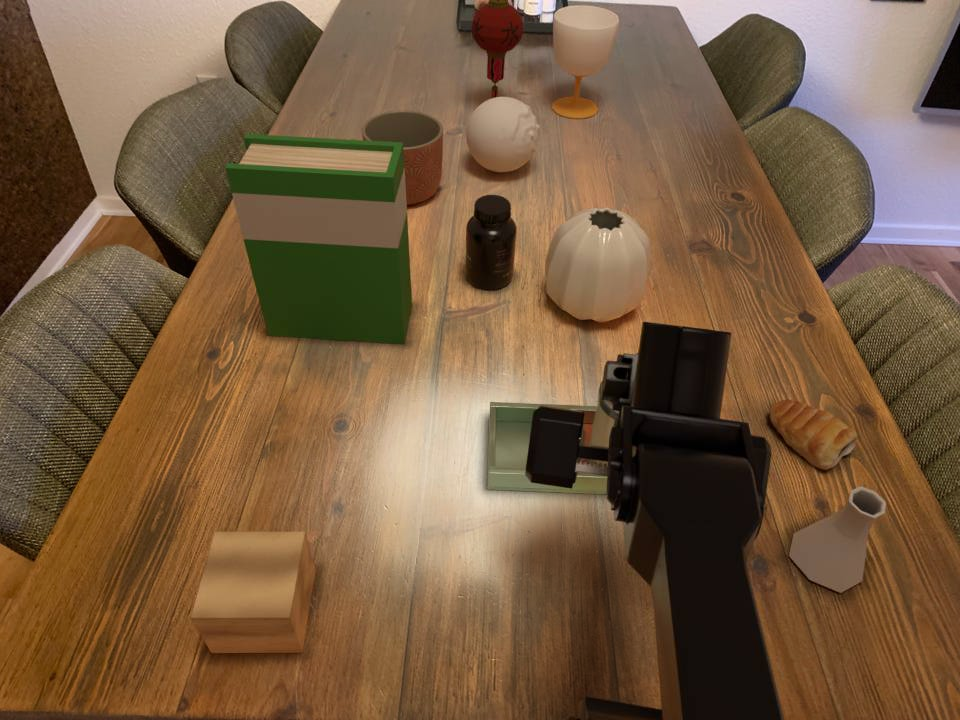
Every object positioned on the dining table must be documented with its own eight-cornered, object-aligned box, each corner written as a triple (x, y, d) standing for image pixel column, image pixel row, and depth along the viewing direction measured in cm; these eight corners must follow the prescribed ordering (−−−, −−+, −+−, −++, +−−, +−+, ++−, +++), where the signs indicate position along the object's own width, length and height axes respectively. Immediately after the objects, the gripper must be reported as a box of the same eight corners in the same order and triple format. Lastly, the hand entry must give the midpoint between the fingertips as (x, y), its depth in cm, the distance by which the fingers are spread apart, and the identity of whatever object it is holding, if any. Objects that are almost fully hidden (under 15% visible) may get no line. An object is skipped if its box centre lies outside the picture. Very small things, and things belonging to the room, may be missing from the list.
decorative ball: (522, 192, 117) (527, 123, 108) (455, 176, 120) (454, 108, 111) (544, 158, 125) (551, 92, 116) (481, 144, 127) (483, 79, 119)
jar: (588, 486, 75) (604, 419, 67) (581, 437, 80) (595, 369, 72) (650, 486, 75) (673, 419, 68) (639, 437, 80) (659, 369, 72)
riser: (302, 653, 63) (289, 617, 58) (211, 653, 62) (190, 618, 57) (316, 569, 68) (305, 531, 63) (232, 570, 68) (214, 531, 63)
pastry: (753, 426, 82) (763, 404, 80) (785, 399, 86) (796, 377, 83) (826, 477, 78) (840, 456, 75) (857, 446, 81) (871, 425, 78)
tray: (665, 496, 75) (671, 480, 73) (487, 489, 75) (488, 472, 73) (652, 425, 82) (657, 408, 80) (489, 418, 82) (490, 401, 80)
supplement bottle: (455, 276, 101) (455, 203, 92) (487, 255, 104) (490, 183, 96) (490, 298, 97) (494, 225, 89) (523, 276, 101) (529, 203, 93)
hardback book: (267, 335, 91) (225, 167, 74) (283, 298, 96) (246, 133, 79) (404, 344, 91) (393, 177, 74) (412, 306, 96) (403, 142, 79)
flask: (809, 513, 74) (847, 455, 67) (877, 559, 71) (924, 502, 64) (775, 556, 71) (811, 500, 63) (844, 607, 67) (890, 553, 60)
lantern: (485, 124, 133) (491, -55, 112) (460, 104, 139) (462, -71, 117) (527, 114, 136) (541, -62, 115) (502, 94, 142) (510, -77, 121)
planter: (398, 221, 110) (393, 157, 102) (352, 187, 116) (345, 125, 109) (459, 194, 116) (459, 131, 108) (413, 163, 122) (410, 102, 114)
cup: (564, 89, 144) (574, 0, 132) (615, 106, 140) (631, 15, 128) (533, 110, 137) (541, 18, 125) (585, 128, 133) (599, 34, 121)
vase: (524, 283, 100) (532, 201, 90) (610, 261, 104) (625, 180, 95) (571, 346, 91) (585, 263, 82) (662, 320, 95) (685, 237, 86)
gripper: (811, 377, 49) (747, 373, 64) (541, 342, 51) (542, 346, 66) (789, 537, 49) (731, 494, 64) (521, 496, 51) (527, 465, 66)
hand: (632, 446), depth 65 cm, fingers open, 9 cm apart
